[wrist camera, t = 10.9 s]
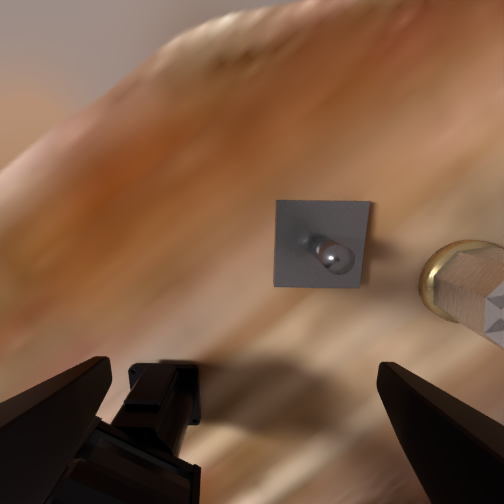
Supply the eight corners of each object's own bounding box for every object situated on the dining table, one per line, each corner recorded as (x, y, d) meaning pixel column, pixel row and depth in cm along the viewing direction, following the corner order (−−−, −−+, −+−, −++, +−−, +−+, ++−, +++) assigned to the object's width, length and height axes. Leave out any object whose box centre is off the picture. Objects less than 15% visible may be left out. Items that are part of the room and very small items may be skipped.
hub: (492, 318, 21) (564, 355, 16) (412, 316, 21) (461, 353, 16) (512, 240, 19) (600, 254, 14) (426, 239, 19) (484, 252, 14)
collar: (469, 330, 20) (527, 367, 16) (417, 292, 19) (464, 318, 15) (525, 276, 19) (605, 299, 15) (473, 233, 18) (541, 243, 14)
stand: (354, 284, 20) (390, 314, 15) (273, 282, 20) (279, 312, 15) (363, 201, 19) (407, 202, 13) (276, 200, 19) (284, 200, 13)
